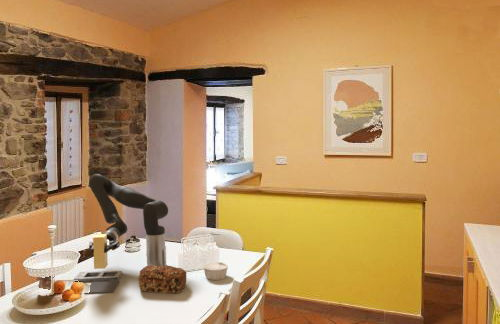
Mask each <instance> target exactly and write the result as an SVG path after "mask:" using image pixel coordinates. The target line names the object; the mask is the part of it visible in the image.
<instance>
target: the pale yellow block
mask: <svg viewBox="0 0 500 324" xmlns="http://www.w3.org/2000/svg"><path fill="white" fill-rule="evenodd" d="M92 242H93V248H94V253H93V269H94V270H98V269H99V270H100V269H101V270H103V269H106V268H107V267H108V265H109V263H108V262H109V261H108V260H109V259H108V252H106V253H104V248H105V247H106V246H107V234H103V233H100V234H95V235H94V236H93V237H92Z"/></svg>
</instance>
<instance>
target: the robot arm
mask: <svg viewBox="0 0 500 324" xmlns="http://www.w3.org/2000/svg"><path fill="white" fill-rule="evenodd" d="M88 186H89V188H90V190H91V192H92V193H93V196H94V197H95V198H96V200H97V202H98V204H99V206H100V209H101V212H102V214H103V217H104V220H105V222H106V223H107V224H110V226H108V227H107V228H106V229H105V231H104V232H103V233H102V234H107V246H106V247H105V248H104V253H106V252H107V253H108V252H110V251H111V250H112V251H115V250H116V249H118V248H120V246H121V244H120V240H119V239H120V237H121V236H123V235H124V234H126V233H127V231H128V226H127V224H126V223H125V222H124V221H123V219H122V218H121V217H120V214H119V212H118V209H117V206H116V204H115V203H114V202H113V200H112V199H111V198H113V199H114V200H115V201H116V202H118V203H119V204H121V205H123V206H125V207H127V208H131V209H137V210H138V209H140V210H143V211H142V214H143V215H142V216H143V227H144V230H145V245H146V248H145V249H146V266H150V265H153V266H167V246H166V229H165V227H164V226H163V225H160V224H159V220H162V219H163V218H165V217H166V216H167V215H168V213H169V208H168V206H167V204H166V203H165V202H164V201H163V200H161V199H156V198H153V197H151V196H147V195H145V194H143V193H141V192H139V191H136V190H135V189H133V188H131V187H128V186H126V185H125V186H124V185H119V184H117V182H116V183H115V182H114V181H112V180H111V179H110V178H108V177H106V176H104V175H102V174H99V173H95V174H93V175H92V176H91V177H90V178H89V180H88ZM110 197H111V198H110ZM88 243H89V244H88V249H89V251H90V253H91V254H94V248H93V241H89V242H88Z"/></svg>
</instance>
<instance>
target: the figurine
mask: <svg viewBox="0 0 500 324" xmlns="http://www.w3.org/2000/svg"><path fill="white" fill-rule="evenodd" d="M53 278H54V279H55V275H54V277H53ZM54 282H55V280H54ZM55 283H56V282H55ZM38 287H39V288H43V289H48V290H50V289H51V276H49V277H45V278H40V277H39V281H38ZM38 287H37V288H38Z"/></svg>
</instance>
